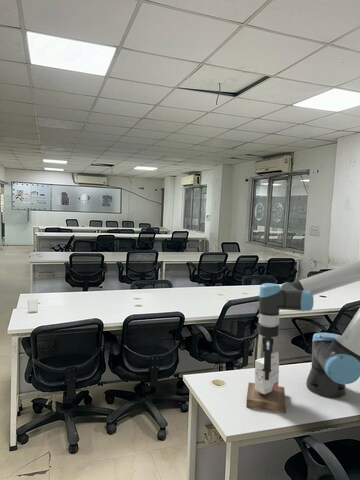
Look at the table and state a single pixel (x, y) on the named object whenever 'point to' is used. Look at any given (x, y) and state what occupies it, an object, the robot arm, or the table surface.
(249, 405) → the walnut base
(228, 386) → the table surface
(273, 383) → the ink cartridge box
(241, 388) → the table surface
